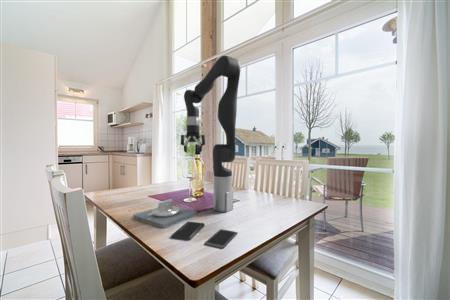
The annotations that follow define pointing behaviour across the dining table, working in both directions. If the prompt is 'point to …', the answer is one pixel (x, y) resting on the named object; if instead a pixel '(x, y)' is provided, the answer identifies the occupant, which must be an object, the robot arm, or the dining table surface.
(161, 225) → the dial base
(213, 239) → the cell phone
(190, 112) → the robot arm
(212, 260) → the dining table surface
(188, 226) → the phone
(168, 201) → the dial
